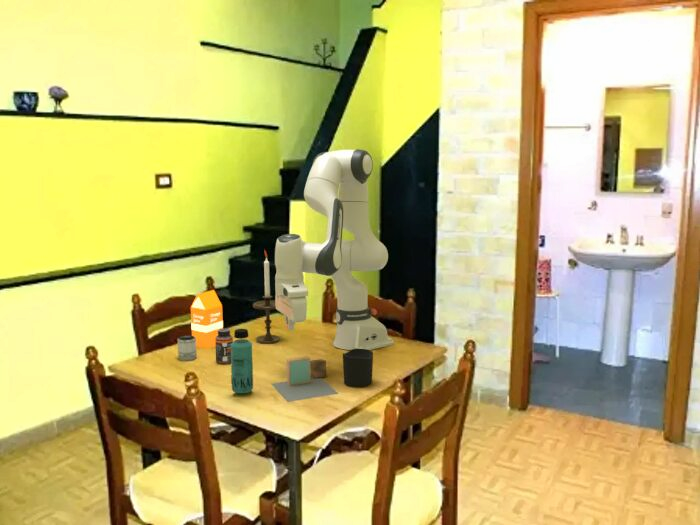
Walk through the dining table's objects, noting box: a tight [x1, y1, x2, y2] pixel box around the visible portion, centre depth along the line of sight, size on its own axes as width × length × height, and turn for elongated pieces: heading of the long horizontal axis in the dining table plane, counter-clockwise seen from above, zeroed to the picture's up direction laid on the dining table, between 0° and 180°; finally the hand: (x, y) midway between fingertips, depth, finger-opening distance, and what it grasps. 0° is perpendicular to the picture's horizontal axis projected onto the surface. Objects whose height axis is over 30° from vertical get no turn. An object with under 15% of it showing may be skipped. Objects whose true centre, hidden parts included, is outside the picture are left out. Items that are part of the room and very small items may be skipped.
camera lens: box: [177, 334, 197, 362], centre depth 232 cm, size 6×6×8 cm
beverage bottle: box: [230, 328, 254, 394], centre depth 197 cm, size 6×7×20 cm
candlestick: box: [252, 249, 281, 345], centre depth 250 cm, size 11×11×35 cm
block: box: [310, 358, 328, 378], centre depth 213 cm, size 4×4×5 cm
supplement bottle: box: [214, 328, 234, 365], centre depth 228 cm, size 6×6×11 cm
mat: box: [271, 377, 339, 403], centre depth 202 cm, size 16×16×1 cm
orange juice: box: [190, 289, 224, 349], centre depth 247 cm, size 8×9×20 cm
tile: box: [286, 355, 311, 386], centre depth 206 cm, size 7×2×8 cm, turn 114°
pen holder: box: [342, 349, 374, 389], centre depth 206 cm, size 9×9×10 cm
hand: (290, 329), depth 210 cm, fingers closed
